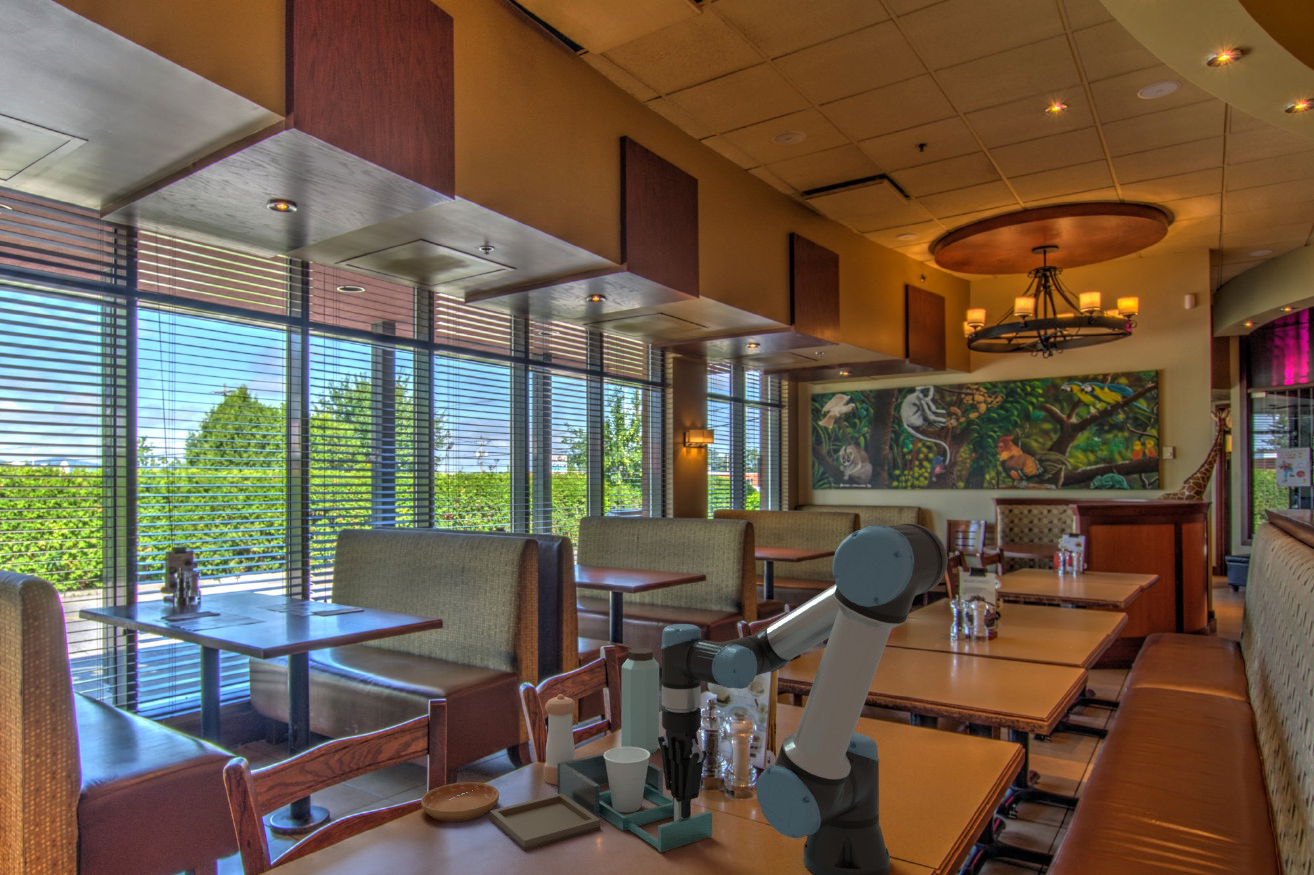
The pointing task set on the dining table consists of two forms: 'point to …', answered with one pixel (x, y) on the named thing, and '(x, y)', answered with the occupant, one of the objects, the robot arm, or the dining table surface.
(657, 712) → the water bottle
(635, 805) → the cup
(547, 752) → the pepper shaker
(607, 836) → the dining table surface
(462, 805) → the saucer
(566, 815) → the tray
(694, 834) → the caddy
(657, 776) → the cubby
